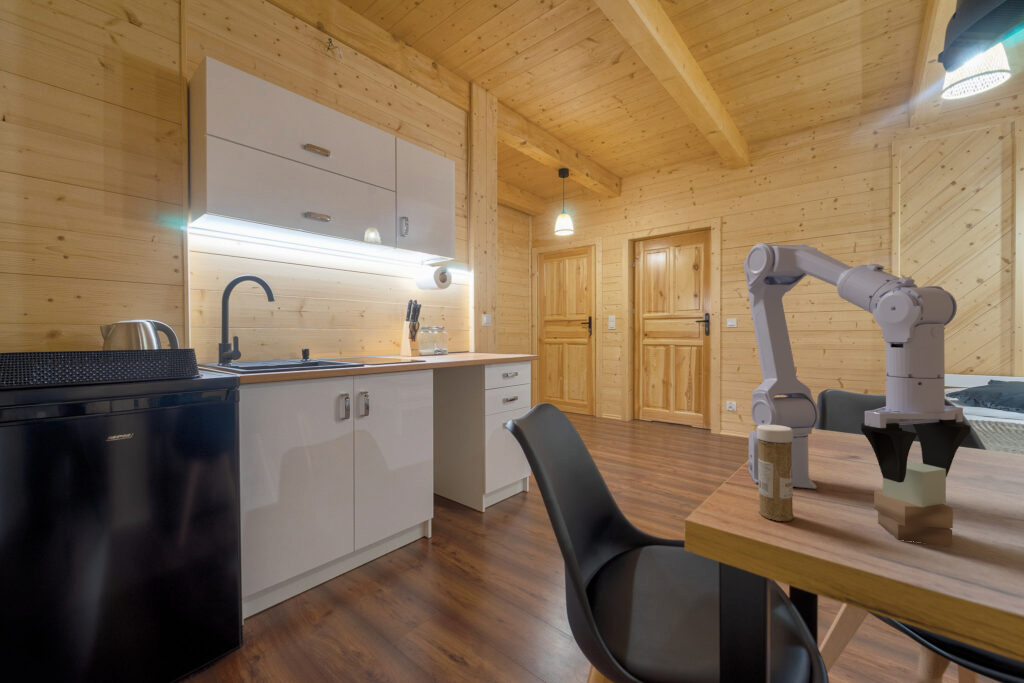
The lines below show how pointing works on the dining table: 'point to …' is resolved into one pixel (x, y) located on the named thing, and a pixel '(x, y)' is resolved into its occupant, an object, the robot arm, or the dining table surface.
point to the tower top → (914, 512)
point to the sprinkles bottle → (775, 472)
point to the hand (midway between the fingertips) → (914, 477)
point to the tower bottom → (916, 532)
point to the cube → (919, 485)
